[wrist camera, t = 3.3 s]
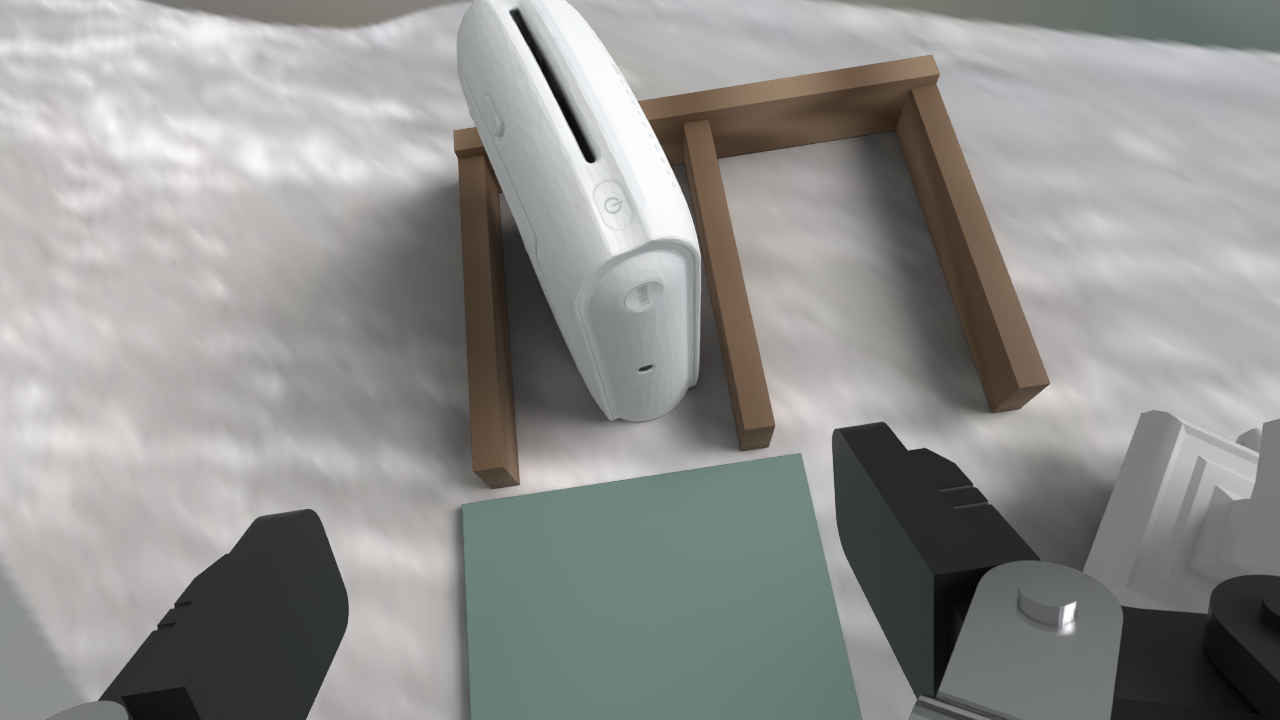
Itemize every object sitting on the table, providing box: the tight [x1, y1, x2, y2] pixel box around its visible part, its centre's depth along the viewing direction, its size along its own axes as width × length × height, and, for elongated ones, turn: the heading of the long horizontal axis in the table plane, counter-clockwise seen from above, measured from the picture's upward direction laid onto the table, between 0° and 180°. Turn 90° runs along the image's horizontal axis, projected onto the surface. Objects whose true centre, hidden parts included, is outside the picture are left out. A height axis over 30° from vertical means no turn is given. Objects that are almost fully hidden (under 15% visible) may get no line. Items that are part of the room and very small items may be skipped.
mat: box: [462, 453, 862, 720], centre depth 24 cm, size 12×12×1 cm
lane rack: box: [454, 55, 1050, 489], centre depth 28 cm, size 19×14×3 cm
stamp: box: [1083, 410, 1280, 614], centre depth 20 cm, size 9×7×8 cm
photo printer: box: [457, 0, 701, 422], centre depth 24 cm, size 10×4×12 cm, turn 23°
